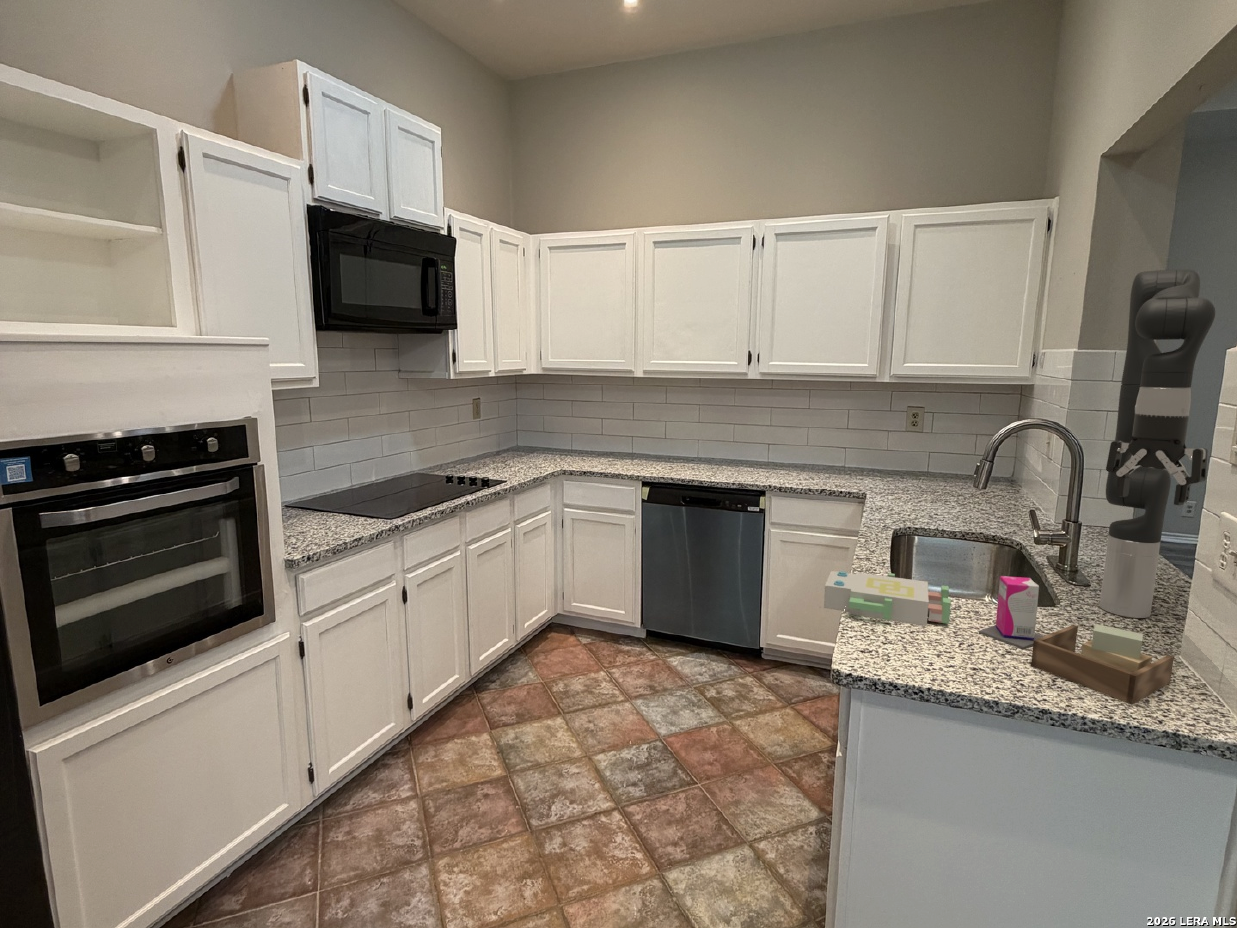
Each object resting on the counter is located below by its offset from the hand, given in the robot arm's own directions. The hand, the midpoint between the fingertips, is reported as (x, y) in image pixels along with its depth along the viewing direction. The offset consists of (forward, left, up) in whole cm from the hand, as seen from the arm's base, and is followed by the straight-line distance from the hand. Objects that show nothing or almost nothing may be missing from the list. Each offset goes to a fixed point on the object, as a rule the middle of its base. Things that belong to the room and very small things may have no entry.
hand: (1149, 500), depth 120 cm
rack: (+12, 0, -31) cm, 33 cm away
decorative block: (+19, -40, -32) cm, 54 cm away
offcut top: (+8, +1, -27) cm, 28 cm away
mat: (+9, -17, -31) cm, 36 cm away
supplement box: (+9, -17, -31) cm, 36 cm away
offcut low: (+8, +1, -31) cm, 32 cm away
